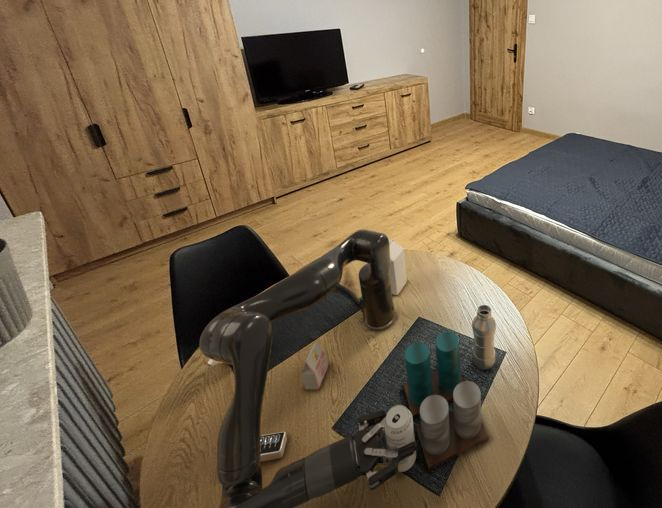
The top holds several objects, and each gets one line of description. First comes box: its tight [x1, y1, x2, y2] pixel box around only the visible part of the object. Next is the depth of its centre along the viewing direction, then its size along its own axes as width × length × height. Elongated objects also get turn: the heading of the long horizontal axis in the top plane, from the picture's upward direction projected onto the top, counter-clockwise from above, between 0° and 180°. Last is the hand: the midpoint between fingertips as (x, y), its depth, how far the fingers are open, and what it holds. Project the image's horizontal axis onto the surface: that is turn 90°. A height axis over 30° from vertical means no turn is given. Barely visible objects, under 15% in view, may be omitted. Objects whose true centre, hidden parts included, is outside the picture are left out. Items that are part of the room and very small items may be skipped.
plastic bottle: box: [471, 304, 497, 371], centre depth 101 cm, size 6×7×20 cm
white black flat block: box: [260, 431, 288, 463], centre depth 84 cm, size 4×11×2 cm, turn 99°
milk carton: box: [389, 237, 408, 296], centre depth 130 cm, size 7×7×19 cm
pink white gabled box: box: [300, 341, 329, 391], centre depth 100 cm, size 4×7×10 cm, turn 178°
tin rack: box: [416, 380, 490, 471], centre depth 85 cm, size 15×9×12 cm, turn 114°
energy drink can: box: [384, 404, 417, 473], centre depth 80 cm, size 6×6×15 cm
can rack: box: [402, 331, 464, 419], centre depth 95 cm, size 15×9×16 cm, turn 114°
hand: (410, 430), depth 81 cm, fingers closed on energy drink can, 6 cm apart
